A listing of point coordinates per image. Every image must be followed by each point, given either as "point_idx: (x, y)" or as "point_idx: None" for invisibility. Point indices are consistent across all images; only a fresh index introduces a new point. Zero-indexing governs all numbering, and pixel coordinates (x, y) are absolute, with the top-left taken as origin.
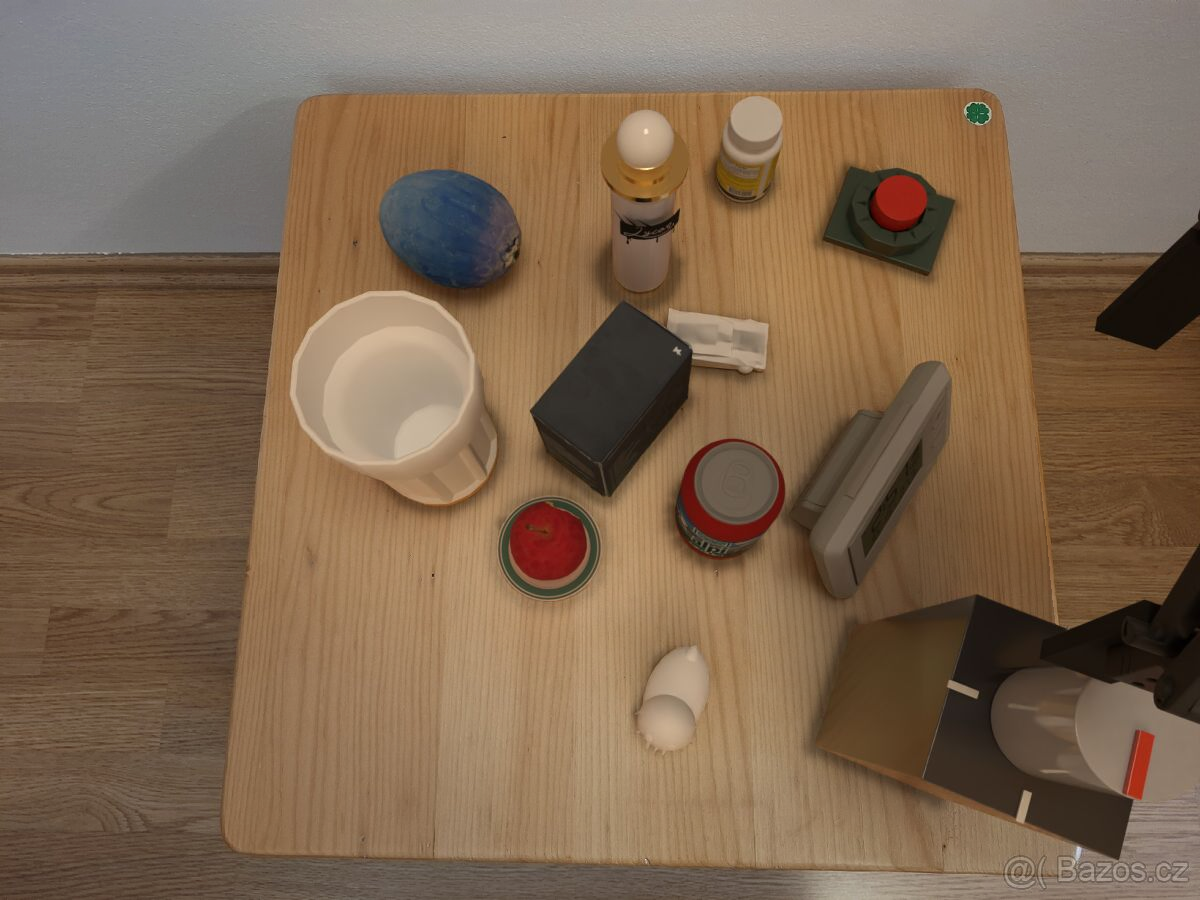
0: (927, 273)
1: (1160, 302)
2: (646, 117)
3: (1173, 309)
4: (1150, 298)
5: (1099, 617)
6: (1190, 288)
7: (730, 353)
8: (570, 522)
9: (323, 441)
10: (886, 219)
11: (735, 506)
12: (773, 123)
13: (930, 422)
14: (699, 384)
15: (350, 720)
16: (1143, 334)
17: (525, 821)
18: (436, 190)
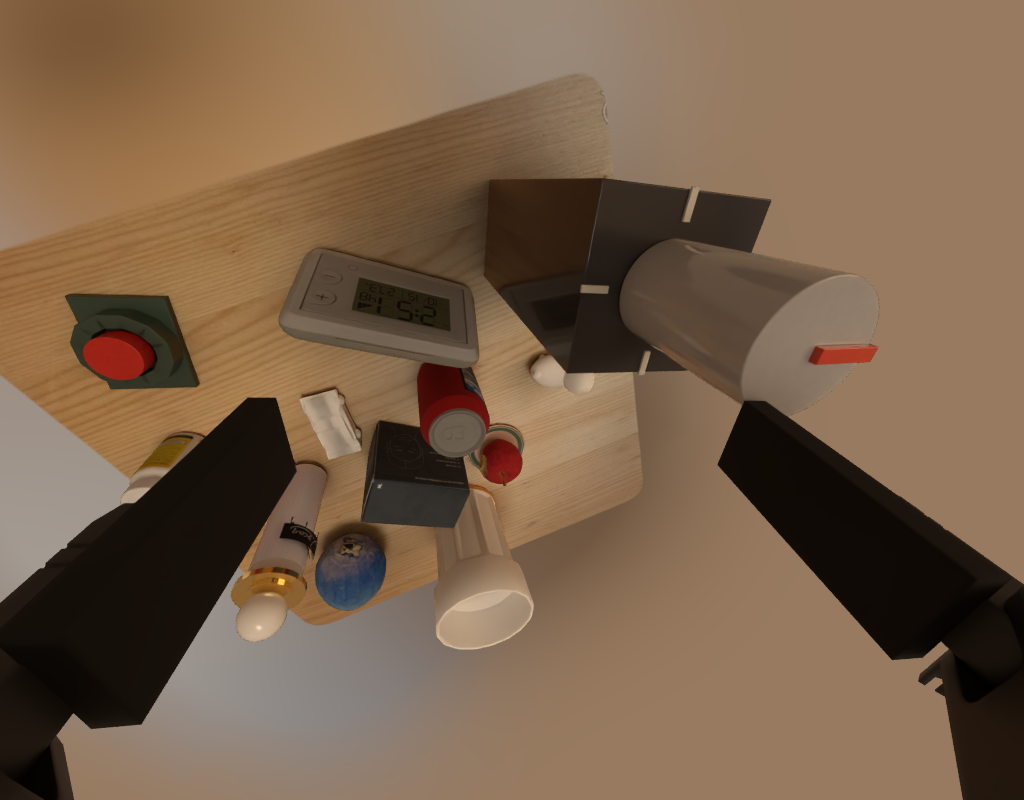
0: (167, 299)
1: (236, 518)
2: (250, 639)
3: (231, 492)
4: (240, 532)
5: (800, 556)
6: (195, 551)
7: (337, 415)
8: (492, 465)
9: (526, 619)
10: (147, 361)
11: (473, 428)
12: (142, 493)
13: (336, 309)
14: (365, 417)
15: (593, 481)
16: (272, 441)
17: (622, 404)
18: (342, 604)
